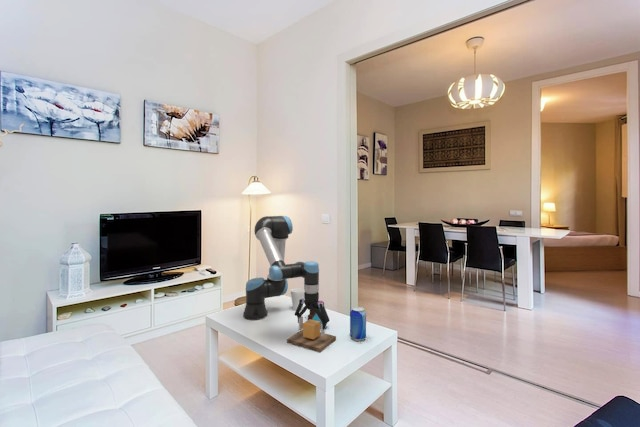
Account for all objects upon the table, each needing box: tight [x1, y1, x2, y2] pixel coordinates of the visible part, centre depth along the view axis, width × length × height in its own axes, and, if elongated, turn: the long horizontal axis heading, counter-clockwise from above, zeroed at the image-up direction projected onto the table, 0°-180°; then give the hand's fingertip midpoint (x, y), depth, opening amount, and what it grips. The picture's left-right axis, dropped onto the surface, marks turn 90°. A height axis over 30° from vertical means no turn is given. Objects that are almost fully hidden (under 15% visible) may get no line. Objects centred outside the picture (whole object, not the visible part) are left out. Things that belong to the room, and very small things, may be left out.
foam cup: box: [290, 287, 305, 312], centre depth 210 cm, size 10×9×13 cm
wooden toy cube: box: [302, 319, 321, 340], centre depth 161 cm, size 6×6×7 cm
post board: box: [286, 329, 337, 353], centre depth 161 cm, size 20×16×9 cm
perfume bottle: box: [312, 300, 328, 331], centre depth 179 cm, size 9×9×15 cm
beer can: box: [349, 306, 367, 342], centre depth 165 cm, size 8×8×16 cm
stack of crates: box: [307, 308, 317, 321], centre depth 193 cm, size 15×15×7 cm
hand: (311, 332), depth 161 cm, fingers open, 13 cm apart
